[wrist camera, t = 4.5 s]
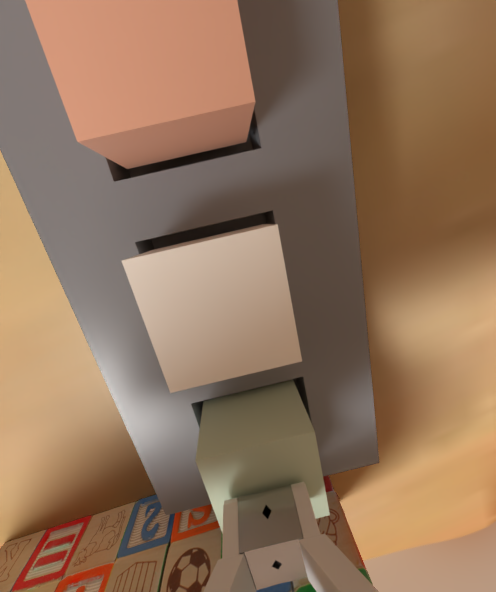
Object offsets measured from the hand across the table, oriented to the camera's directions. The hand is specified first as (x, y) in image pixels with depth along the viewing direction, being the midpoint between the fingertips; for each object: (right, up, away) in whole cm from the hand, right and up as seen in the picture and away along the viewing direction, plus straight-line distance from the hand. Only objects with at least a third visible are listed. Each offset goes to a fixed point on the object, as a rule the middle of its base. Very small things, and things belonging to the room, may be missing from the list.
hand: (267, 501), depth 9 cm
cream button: (-2, +8, +1) cm, 8 cm away
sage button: (0, +1, +3) cm, 3 cm away
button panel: (-2, +8, +3) cm, 9 cm away
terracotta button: (-3, +14, -1) cm, 15 cm away
